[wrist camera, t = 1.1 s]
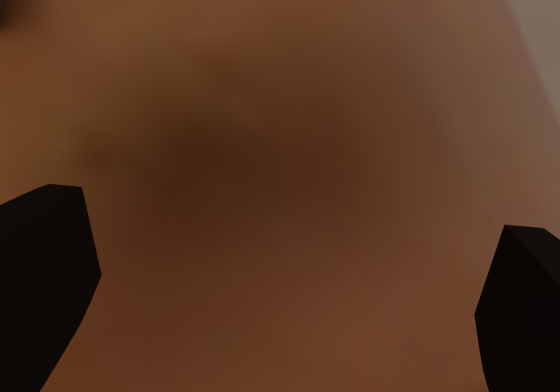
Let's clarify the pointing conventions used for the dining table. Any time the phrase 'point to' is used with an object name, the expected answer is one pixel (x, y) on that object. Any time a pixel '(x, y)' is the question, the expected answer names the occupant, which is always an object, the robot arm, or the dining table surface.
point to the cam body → (0, 3)
